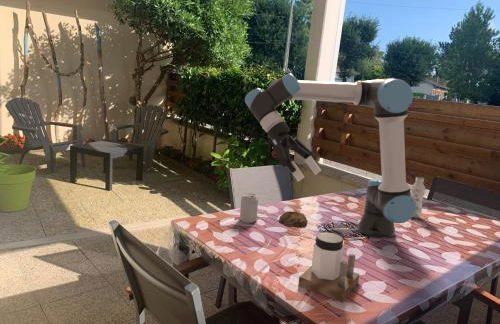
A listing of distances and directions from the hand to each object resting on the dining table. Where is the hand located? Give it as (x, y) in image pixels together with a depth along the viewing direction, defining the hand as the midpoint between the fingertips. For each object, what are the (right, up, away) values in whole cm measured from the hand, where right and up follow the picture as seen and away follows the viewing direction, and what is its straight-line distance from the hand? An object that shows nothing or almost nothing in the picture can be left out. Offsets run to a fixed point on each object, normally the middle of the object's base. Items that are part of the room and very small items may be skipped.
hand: (310, 176), depth 129 cm
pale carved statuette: (+60, -23, +56) cm, 85 cm away
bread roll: (-1, -22, +40) cm, 46 cm away
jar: (+3, -30, -11) cm, 32 cm away
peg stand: (+4, -33, -12) cm, 35 cm away
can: (-21, -21, +38) cm, 49 cm away
